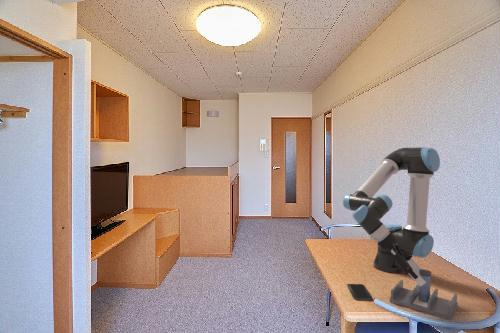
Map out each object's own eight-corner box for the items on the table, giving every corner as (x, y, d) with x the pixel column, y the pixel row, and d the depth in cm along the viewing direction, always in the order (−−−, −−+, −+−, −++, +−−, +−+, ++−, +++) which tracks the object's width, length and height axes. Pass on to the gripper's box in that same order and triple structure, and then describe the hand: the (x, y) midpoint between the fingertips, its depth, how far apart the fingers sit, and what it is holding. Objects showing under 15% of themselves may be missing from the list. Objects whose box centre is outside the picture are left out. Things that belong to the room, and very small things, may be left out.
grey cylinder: (419, 296, 134) (420, 268, 133) (430, 299, 131) (432, 271, 131) (417, 300, 131) (418, 271, 130) (428, 303, 128) (429, 274, 128)
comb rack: (399, 290, 144) (400, 279, 144) (457, 306, 130) (458, 293, 130) (389, 301, 132) (389, 290, 132) (451, 320, 118) (452, 307, 118)
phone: (354, 298, 134) (346, 283, 149) (354, 301, 134) (346, 286, 149) (373, 299, 133) (364, 284, 148) (373, 301, 133) (363, 286, 148)
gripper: (378, 235, 149) (413, 272, 143) (374, 250, 126) (415, 295, 121) (390, 225, 146) (427, 263, 141) (389, 239, 124) (432, 284, 118)
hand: (422, 278), depth 131 cm, fingers open, 13 cm apart
